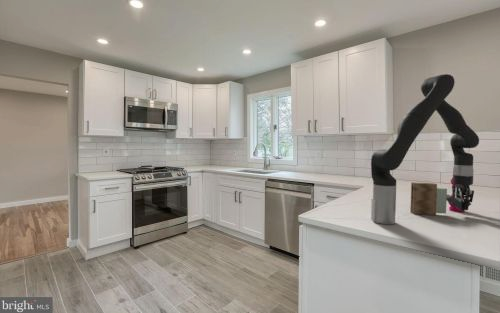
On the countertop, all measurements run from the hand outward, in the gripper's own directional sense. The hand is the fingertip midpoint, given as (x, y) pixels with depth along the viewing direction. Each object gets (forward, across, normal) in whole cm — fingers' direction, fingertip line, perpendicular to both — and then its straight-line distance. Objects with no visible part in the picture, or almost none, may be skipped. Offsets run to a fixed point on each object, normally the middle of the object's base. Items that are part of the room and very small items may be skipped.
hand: (461, 208), depth 119 cm
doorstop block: (-2, 0, -4) cm, 4 cm away
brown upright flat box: (+4, 0, -17) cm, 17 cm away
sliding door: (+4, 0, -13) cm, 13 cm away
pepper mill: (+4, -11, +3) cm, 12 cm away
